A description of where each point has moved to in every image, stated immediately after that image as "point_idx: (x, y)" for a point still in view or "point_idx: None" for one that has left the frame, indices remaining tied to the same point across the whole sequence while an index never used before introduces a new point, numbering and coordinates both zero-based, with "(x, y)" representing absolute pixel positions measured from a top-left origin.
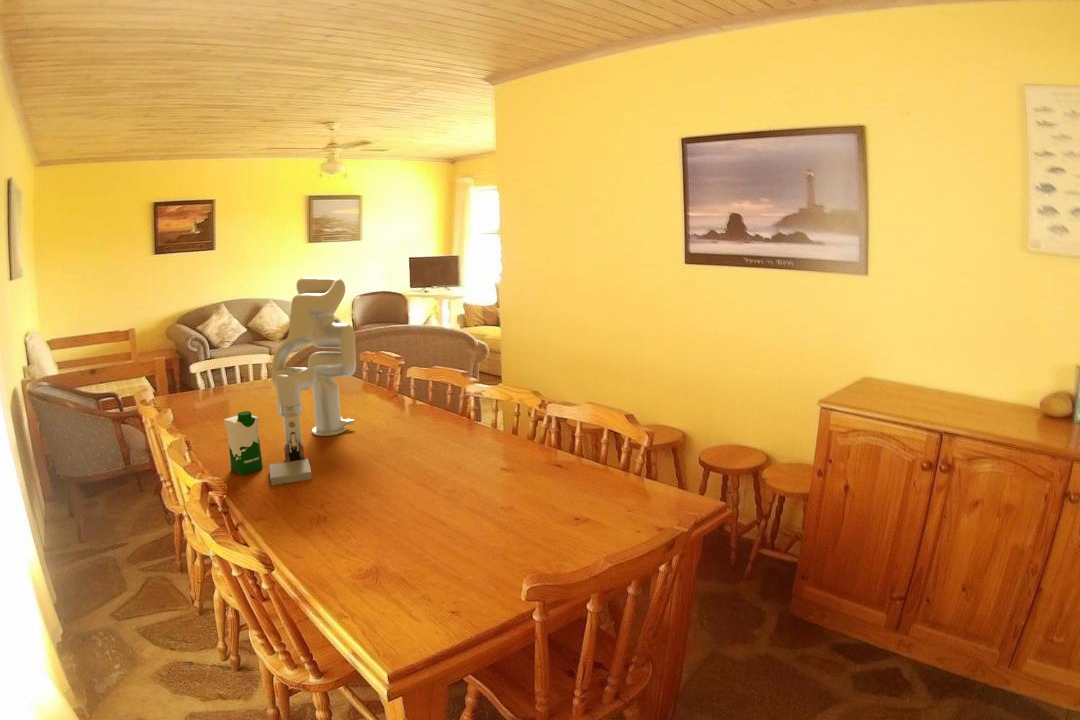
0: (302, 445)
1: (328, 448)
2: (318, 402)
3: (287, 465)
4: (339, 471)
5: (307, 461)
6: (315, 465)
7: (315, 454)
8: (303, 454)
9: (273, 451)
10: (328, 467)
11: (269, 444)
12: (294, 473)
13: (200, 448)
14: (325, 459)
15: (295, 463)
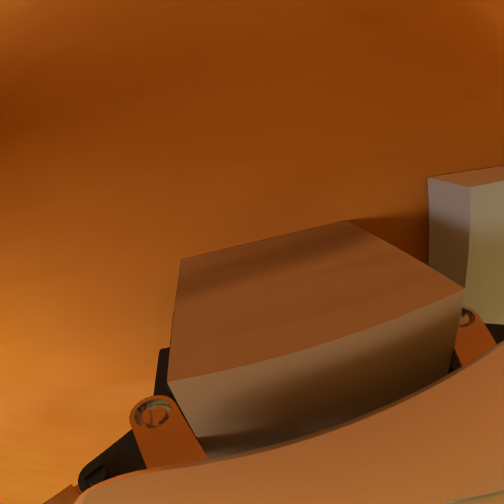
0: (445, 305)
1: (15, 65)
2: None
3: (497, 316)
4: (498, 17)
5: (501, 190)
6: (426, 126)
7: (141, 146)
8: (390, 250)
9: (81, 448)
10: (462, 48)
11: (5, 452)
12: None
13: None
14: (314, 37)
15: (498, 275)
